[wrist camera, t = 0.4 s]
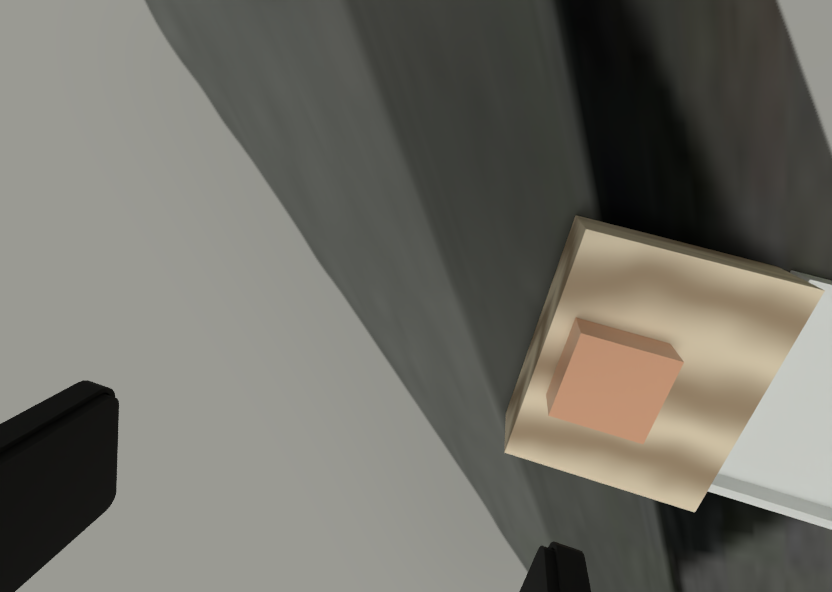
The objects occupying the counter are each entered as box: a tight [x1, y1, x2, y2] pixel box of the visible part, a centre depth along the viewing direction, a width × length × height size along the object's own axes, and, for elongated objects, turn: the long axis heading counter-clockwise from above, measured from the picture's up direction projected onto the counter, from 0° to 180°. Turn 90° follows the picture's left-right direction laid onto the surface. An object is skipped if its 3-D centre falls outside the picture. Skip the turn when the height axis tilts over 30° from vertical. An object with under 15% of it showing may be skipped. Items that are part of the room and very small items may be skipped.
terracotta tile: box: [546, 317, 684, 444], centre depth 34 cm, size 7×7×3 cm
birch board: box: [505, 215, 825, 512], centre depth 38 cm, size 20×16×6 cm
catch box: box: [708, 270, 832, 529], centre depth 38 cm, size 20×14×2 cm
